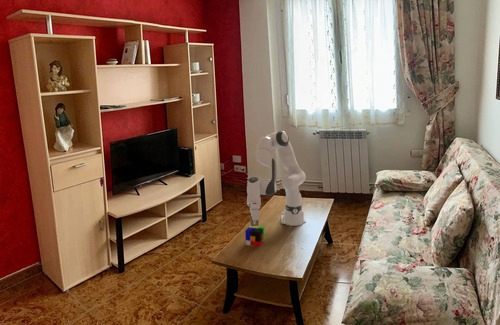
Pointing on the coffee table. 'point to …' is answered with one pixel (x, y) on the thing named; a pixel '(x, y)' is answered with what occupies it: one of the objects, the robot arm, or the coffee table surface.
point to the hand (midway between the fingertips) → (254, 222)
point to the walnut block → (252, 222)
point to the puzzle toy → (254, 235)
